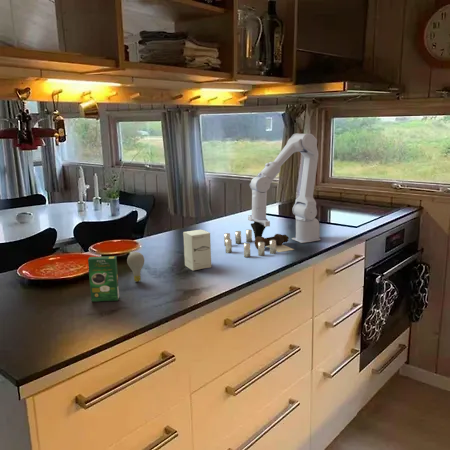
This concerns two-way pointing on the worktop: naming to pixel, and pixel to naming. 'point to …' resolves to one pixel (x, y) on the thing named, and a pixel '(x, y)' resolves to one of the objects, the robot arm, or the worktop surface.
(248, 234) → the spacers
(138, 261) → the light bulb
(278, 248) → the mat
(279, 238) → the brown bone
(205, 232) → the supplement box
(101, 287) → the coffee box
